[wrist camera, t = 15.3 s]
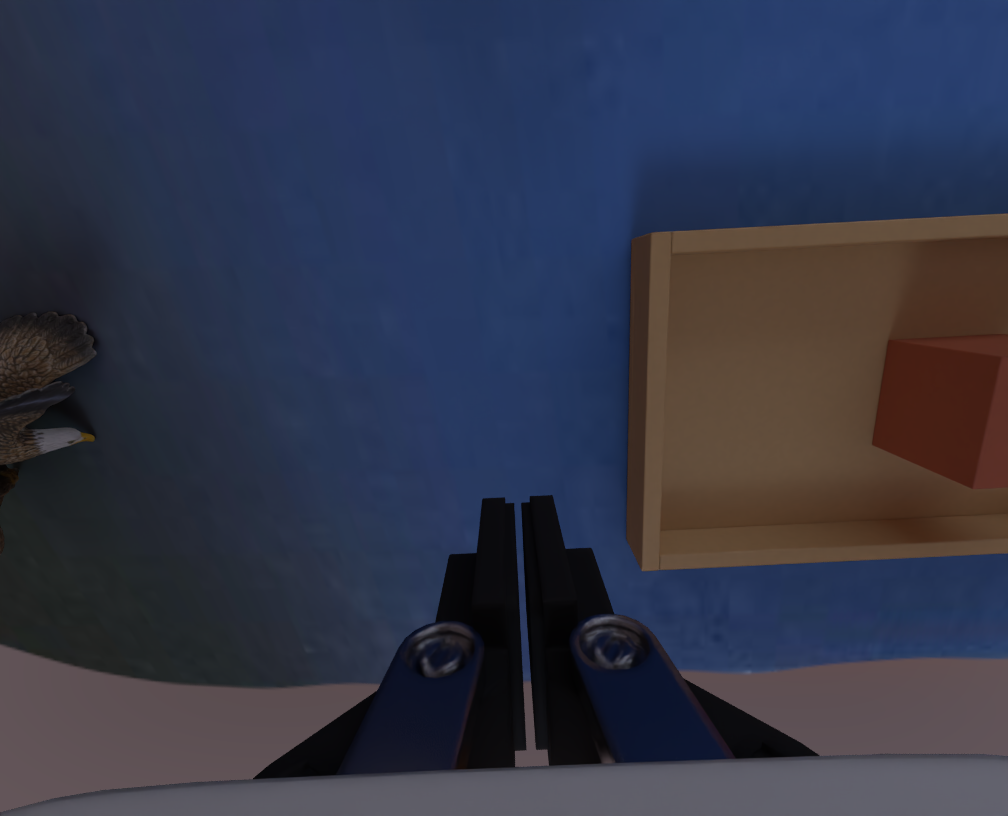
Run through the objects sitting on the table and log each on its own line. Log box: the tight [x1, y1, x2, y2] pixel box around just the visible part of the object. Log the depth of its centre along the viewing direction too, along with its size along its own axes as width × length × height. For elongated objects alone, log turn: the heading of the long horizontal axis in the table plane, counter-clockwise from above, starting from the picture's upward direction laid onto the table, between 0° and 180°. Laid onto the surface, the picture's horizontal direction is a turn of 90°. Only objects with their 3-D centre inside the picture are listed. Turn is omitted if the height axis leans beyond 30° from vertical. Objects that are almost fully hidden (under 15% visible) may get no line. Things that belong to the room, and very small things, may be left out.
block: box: [872, 334, 1008, 489], centre depth 19 cm, size 5×5×5 cm
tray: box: [626, 213, 1008, 571], centre depth 21 cm, size 22×15×3 cm
